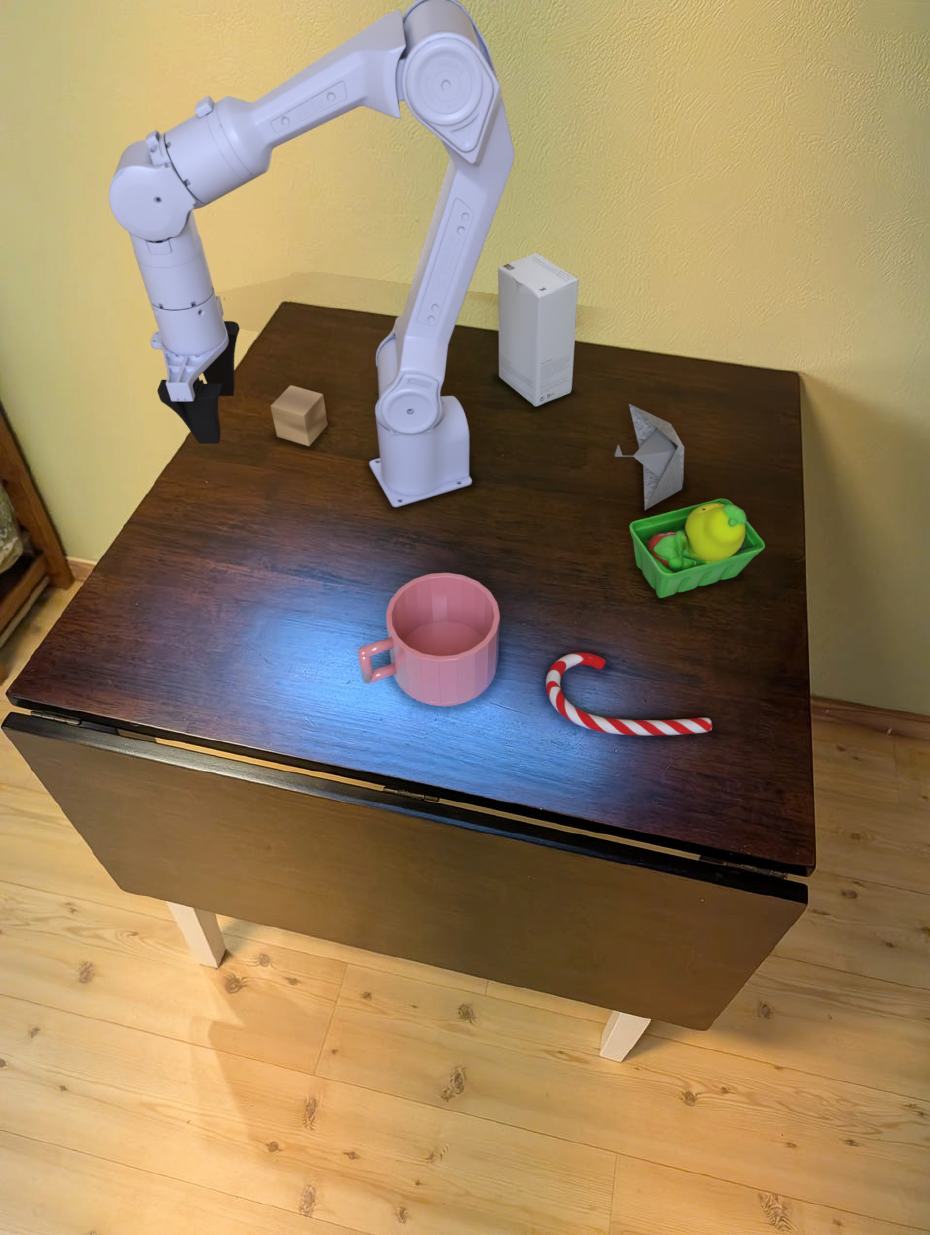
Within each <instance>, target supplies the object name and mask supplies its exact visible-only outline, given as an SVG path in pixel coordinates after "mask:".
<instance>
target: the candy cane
mask: <svg viewBox="0 0 930 1235" xmlns="http://www.w3.org/2000/svg"><path fill="white" fill-rule="evenodd" d="M606 663H607V661H606V659H605V658H603V657H601V656H599V655H596V654H593V653H589V652H581V651H579V652H572V653H569V654H566V655H564V656H562V657H560V658H558V659H557V660H556V661H555V662H553V664H552V665H551V666H550V668H549V670H548V672H547V674H546V679H545V689H546V694H547V697H548V699H549V701H550V703H551V705H552V706H553V708H554V709H555V710H556V711H557V712H558V713H559V714H560V715H562V717H564V718H565V719H567V720H568V721H569V722H571V723H573V724H575V725H577V726H580V727H582V728H586V729H588V730H592V731H595V732H599V733H605V734H612V735H625V736H677V735H679V736H680V735H693V734H702V733H708V732H710V731H712V729H713V722H712V720H711V719H710V718H709V717H694V718H693V717H692V718H680V719H660V720H659V719H656V720H652V719H651V720H650V719H647V720H646V719H620V718H610V717H603V716H599V715H594V714H591V713H588V712H586V711H583V710H581V709H579V708H578V707H576V706H575V705H573V704H572V703H571V702H569V700H567V698H566V697H565V696H564V694H563V691H562V688H561V680H562V677H563V674H564V673H565V672H566V671H567V670H568V669H570V668H572V667H574V666H579V665H584V666H588V667H591V668H594V669H596V670H603V669H604V667H605V665H606Z"/></svg>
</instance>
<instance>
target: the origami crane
mask: <svg viewBox="0 0 930 1235" xmlns="http://www.w3.org/2000/svg"><path fill="white" fill-rule="evenodd" d="M628 406H629V410H630V414H631V418H632V423H633V427H634V432H635V436H636V440H637V444H638V450H637V451H636V452H635V453H634V454H633V455H623V453H622V450H621V447H620V444H617V446H616V449H615V452H614V457H615V458H634V459H635V460H637V461H638V462H639V463H640V464H641V465H642V469H643V493H644V494H643V496H644V497H643V500H644V511H646V510H648V509H649V508H652V507H653V506H655V505H656V504H658V503H660V502H662V501H664V500H666V499H668V498H669V497H671V496H673V495H674V494H676V493H678V492H679V491H681V490H683V484H684V477H685V476H684V472H685V471H684V470H685V469H684V468H685V446H684V445H683V444H684V443H682V441H681V439H680V438H679V436H678V434H677V432H676V431H675V429H674V427H673V425H672V423H670V422H668V421H666V420H664V419H663V418H660V417H658V416H655V415H653V414H652V413H650V412H647V411H646V410H644V409H641V408H640V407H637V406H635V405H633V404H631V403H628Z"/></svg>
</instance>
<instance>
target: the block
mask: <svg viewBox="0 0 930 1235" xmlns="http://www.w3.org/2000/svg"><path fill="white" fill-rule="evenodd" d="M270 410H271V415H272V419H273V420H272V421H273V424H274V429H275V433H276V437H277V438H280V439H284V440H287V441H291V442H294V443H296V444H300V445H303V446H307V447H310V446H311V445H312V444H313V443H314V441H316V439H317V438H318V437H319V436H320V434H322V432H323V431H324V430H325V429H326V428H327V427H328V425H329V423H328V418H327V412H326V403H325V398H324V394H323V393H321V392H316V391H313V390H310V389H305V388H304V387H303V388H302V387H299V386H296V385H289V386H288V387H287V388H286V389H285V390H284V391H283V392H282V393H281V394H280V395H279V397H278V398H276V399H275V401H274V402H273V403H272V404H271V405H270Z"/></svg>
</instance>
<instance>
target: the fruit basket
mask: <svg viewBox="0 0 930 1235" xmlns="http://www.w3.org/2000/svg"><path fill="white" fill-rule="evenodd" d="M629 533H630V536H631V538H632V544H633V552H634V557H635V558H634V559H635V566H637V568H638V569H640V570H641V572H642V576H644V578H645V579H646V581H647V583H648V584H649V585H650V587H651V588H652V589H653V590H655V593H656V596H657V597H658V598H659V599H663V598H667V597H670V596H673V595H675V594H676V593H684V592H688V591H690V590H694V589H696V588H697V587H698V586H699V587H702V586H703V587H704V586H708V585H711V584H712V585H713V584H715V583H717V582H718V581H720V580H723V581H725V580H727V579H732V578H735V577H737V576H738V575H739V573H741V572H742V570H743V569H744V568H746V566H747V565H748V564H749V563H750V562H751V561H752V560H753V558H754V557H756V556H757V555H759V553H761V552H762V551H763V550H764V549H765V548H766V545H765V542H764V540H763V539H762V538H761V537H760V536H759V534H758V533H757V531H755V529H754V528H753V526H752V525H751V524H750V523H749V521H747V514H746V513H745V511H744V509H742V508H740V507H739V506H737V505H735V504H734V503H733V502H731V501H730V500H729V499H727V498H716V499H714V500H710V501H706V502H702V503H699V504H695V505H691V506H687V507H684V508H680V509H676V510H672V511H669V512H665V513H661V514H657V515H654V516H650V517H646V518H645V517H644V518H641V519H638V520H634V521H632V522H631V523H630V524H629Z"/></svg>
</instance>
